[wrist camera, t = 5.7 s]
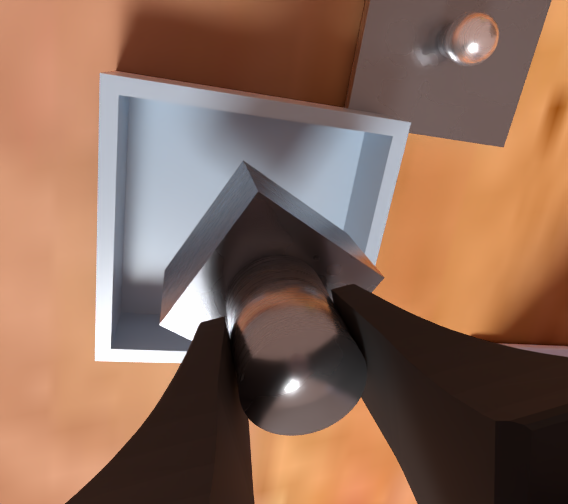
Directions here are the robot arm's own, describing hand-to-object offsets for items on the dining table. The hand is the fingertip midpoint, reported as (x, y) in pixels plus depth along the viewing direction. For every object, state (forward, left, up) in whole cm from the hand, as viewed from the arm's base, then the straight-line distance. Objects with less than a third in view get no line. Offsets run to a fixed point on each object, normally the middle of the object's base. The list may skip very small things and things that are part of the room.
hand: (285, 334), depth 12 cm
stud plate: (-8, -9, -10) cm, 16 cm away
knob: (0, 0, -5) cm, 5 cm away
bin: (0, 0, -10) cm, 10 cm away
